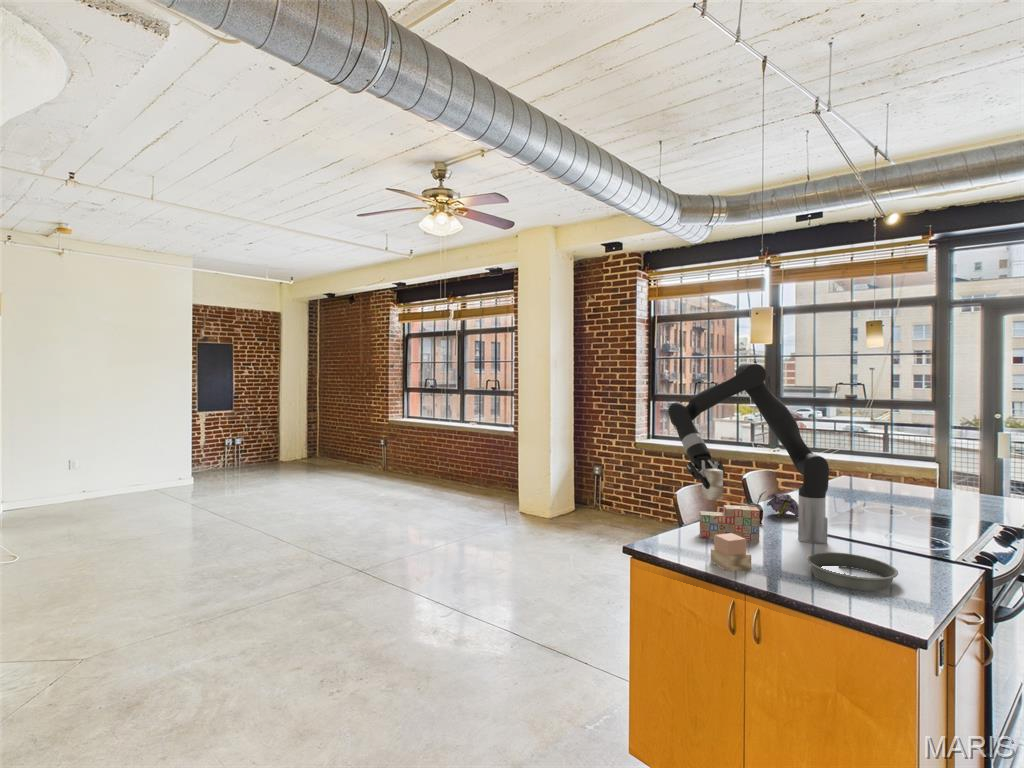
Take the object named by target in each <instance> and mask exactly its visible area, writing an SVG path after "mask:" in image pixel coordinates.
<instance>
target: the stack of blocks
mask: <svg viewBox="0 0 1024 768" xmlns="http://www.w3.org/2000/svg"><path fill="white" fill-rule="evenodd" d="M759 517H760V511H759V509H758V508H757V507H748V506H747V505H732V504H731V505H729V504H728V505H727V504H724V505H723V512H718V511H703V510H702V511H701V510H700V511H699V535H700V538H702V539H713V540H714V535H719V534H728V533H733V534H735V535H738V536H740V537H743V538H745V539H746V542H754V543H755V542H757V543H759V542H760V529H761V524H760V518H759Z"/></svg>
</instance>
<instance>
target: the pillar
mask: <svg viewBox="0 0 1024 768" xmlns="http://www.w3.org/2000/svg"><path fill="white" fill-rule="evenodd" d="M704 473H705V477H706V478H707V480H708V482H709V484H710V488H709V489H706V488H705V487H704V486H703V484H702V483H701V498H703V499H706V500H710V501H716V500H724V487H723V481H724V475H723V470H719V469H713V468H710V469H704Z"/></svg>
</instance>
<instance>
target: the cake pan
mask: <svg viewBox="0 0 1024 768" xmlns="http://www.w3.org/2000/svg"><path fill="white" fill-rule="evenodd" d="M806 561H807V563H808V564H809V565H810V567H811V572H812V574H813V576H814V577H816V578H817V579H819V580H821V581H823V582H825V583H828V584H831V585H832V586H833V585H834V586H837V587H841V588H845V589H851V590H859V591H860V590H861V591H882V590H886V589H890V587H891V586H892V583H893V580H894V579H896V577H898V575H899V571H898V570H897V568H895V567H894V566H893V565H891V564H890V563H889V564H888V563H887V562H884V561H881V560H878V559H875V558H872V557H868V556H864V555H863V556H862V555H860V554H854V553H844V552H834V551H831V552H829V551H826V552H825V551H824V552H815V553H812V554H809V555H808V556H807V557H806ZM822 566H846V567H845V568H849V567H853V568H852V569H855V568H858V569H857V570H860V569H863V570H862V571H864V570H867V571H866V572H868V571H870V572H869V573H871V572H873V573H872V574H874V573H876V574H875V575H877V574H878V575H877V576H879V575H880V577H864V576H858V575H856V576H850V575H846V574H845V573H844V574H840V573H836V572H832V571H829V570H826V569H823V568H821V567H822ZM857 576H858V577H857Z"/></svg>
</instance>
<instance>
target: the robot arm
mask: <svg viewBox="0 0 1024 768" xmlns="http://www.w3.org/2000/svg"><path fill="white" fill-rule="evenodd" d="M766 380H767V370H766V369H765V367H764V366H762V365H761V364H759V363H754V362H753V363H752V362H750V363H749V362H746V363H743V364H740V365H739V366H738V367H737V368H736V371H735V375H734V376H733V377H731V378H729V379H727V380H725V381H723V382H719V383H718V384H716V385H713V386H710V387H708V388H706V389H704V390H702V391H700V392H698V393H697V394H695V395H692V396H691V397H690V398H689V400H688V403H687V405H685V404H684V403H682V402H679V401H675V402H673V403H671V404H670V405H669V407H668V411H667V412H668V416H669V420H670V423H671V425H673V426H674V427H675V428H676V431H677V435H678V437H679V439H680V441H681V444H682V446H683V449H684V451H685V453H686V455H687V457H688V459H689V461H690V462H688V463H687V465H686V466H685V468H686V469H687V471H688V472H689V473H690V475H691V476H692V478H693V479H694V480H699V481H700V482H701V485H702V484H703V486H704V487H705V488H706V489H709V488H710V484H709V482H708V480H707V478H706V477H705V473H704V469H710V468H713V469H719V470H723V476H724V475H725V474H726V472H725V469H724V465H723V462H722V461H721V460H718V461H715V460H714V459H712V455H711V453H710V450H709V449H708V447H707V444H706V443H705V441H704V439H703V438H702V436H701V435H700V433H699V431H698V429H697V427H696V426H695V423H694V422H693V421H694V420H695V419H696V418H697V417H698V416H699V415H700V414H702V413H704V412H706V411H707V410H709V409H711V408H714V406H716V405H718V404H720V403H722V402H723V401H725V400H727V399H729V398H732V397H733V396H735V395H737V394H739V393H743V392H744V391H745V393H746V394H747V395H748V396H749V398H750V399H751V400H752V401H753V403H754V405H755V406H756V408H757V410H758V411H759V413H760V414H761V415H762V417H763V419H764V421H765V422H766V424H767V425H768V427H769V428H770V430H771V431H772V433H773V434H774V435H775V436H776V438H777V440H779V442H780V443H781V445H782V446H783V448H784V449H785V450H786V452H787V454H788V455H789V457H790V460H791V461H792V464H793V465H794V467H795V470H796V471H797V472H798V473H799V474H801V476H803V477H802V479H803V480H802V481H803V482H802V485H800V486H799V488H798V503H797V504H798V517H797V519H798V523H797V525H798V526H797V527H798V528H797V532H798V533H797V535H798V536H797V537H798V538H797V539H798V540H799V541H801V542H803V543H809V544H816V545H817V544H818V543H820V544H828V527H829V525H828V524H829V523H828V521H829V520H828V517H827V516H826V514H827V513H826V507H827V505H826V501H827V495H826V494H827V492H828V488H829V481H830V479H829V477H830V467H829V466H830V465H829V463H828V461H827V460H826V458H824V457H823V456H821V455H818V454H816V453H813V452H812V450H811V449H810V448H809V447H808V445H807V444H806V442H805V441H804V440H803V438H802V435H801V431H800V429H799V425H798V423H797V421H796V419H795V417H794V416H793V415H792V413H791V411H790V410H789V409H788V407H787V406H786V405H785V404H784V403H783V402H782V401H781V400H780V399H779V398H777V397H776V395H775V394H774V393H772V392H771V390H769V388H768V387H767V384H766V383H765V381H766ZM725 484H726V483H725V482H724V480H723V488H724V487H725ZM818 545H819V544H818Z"/></svg>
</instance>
